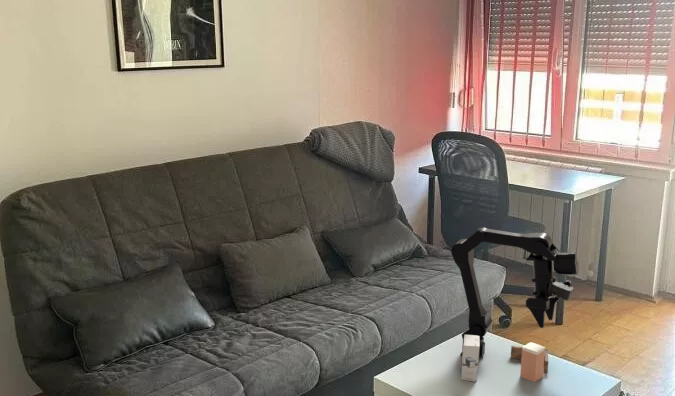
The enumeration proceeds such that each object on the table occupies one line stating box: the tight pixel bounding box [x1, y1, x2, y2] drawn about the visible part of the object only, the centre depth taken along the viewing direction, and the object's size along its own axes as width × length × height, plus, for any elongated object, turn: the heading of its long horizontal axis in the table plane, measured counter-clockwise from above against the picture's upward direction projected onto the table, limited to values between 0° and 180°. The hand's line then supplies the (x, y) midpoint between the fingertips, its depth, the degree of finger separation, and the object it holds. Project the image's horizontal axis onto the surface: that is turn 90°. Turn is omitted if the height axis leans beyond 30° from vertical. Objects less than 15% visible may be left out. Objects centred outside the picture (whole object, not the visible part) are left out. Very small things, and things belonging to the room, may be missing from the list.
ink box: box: [460, 334, 480, 382], centre depth 208 cm, size 9×5×12 cm, turn 168°
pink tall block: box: [519, 341, 546, 383], centre depth 207 cm, size 5×5×10 cm
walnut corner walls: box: [510, 345, 549, 374], centre depth 216 cm, size 12×8×4 cm
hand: (546, 323), depth 207 cm, fingers open, 9 cm apart
